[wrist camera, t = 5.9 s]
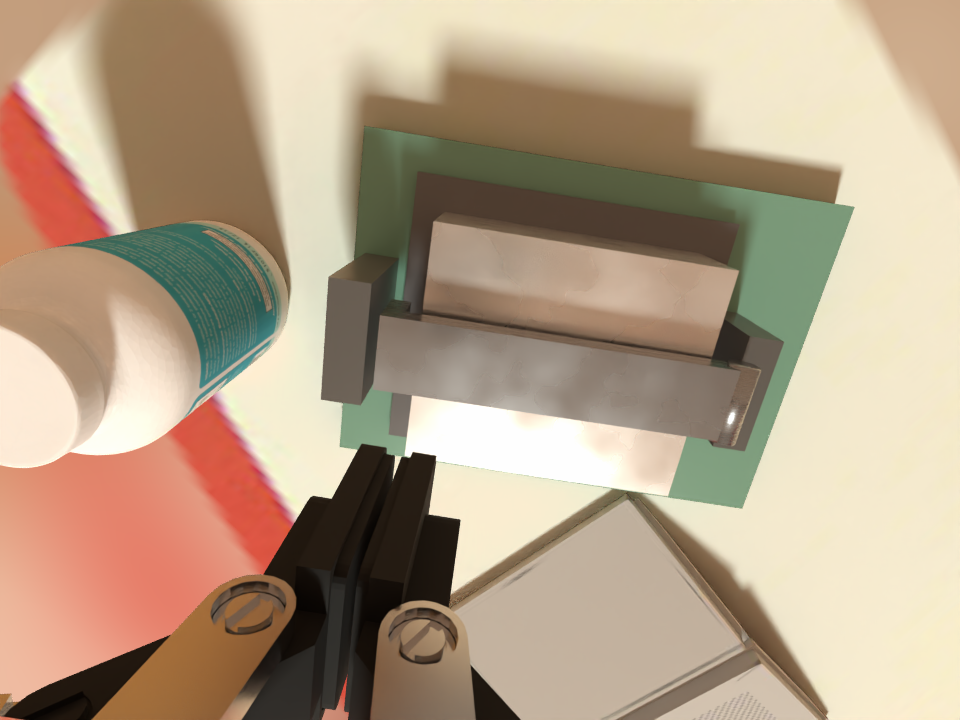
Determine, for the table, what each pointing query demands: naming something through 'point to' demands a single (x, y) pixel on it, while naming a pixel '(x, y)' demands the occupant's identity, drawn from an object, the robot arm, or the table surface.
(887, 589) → the table surface
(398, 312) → the strap
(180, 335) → the pill bottle
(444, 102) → the table surface
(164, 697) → the robot arm
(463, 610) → the gadget
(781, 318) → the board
